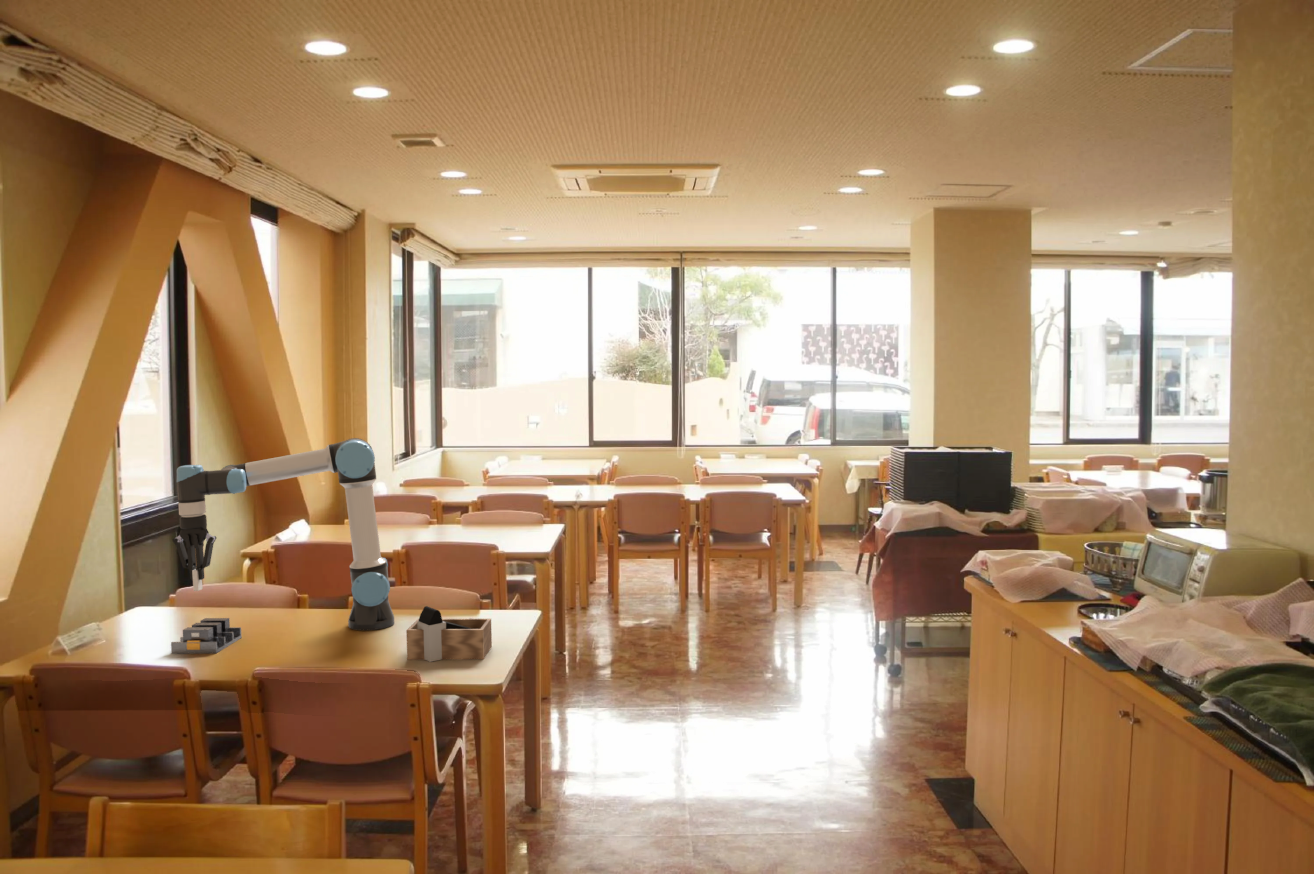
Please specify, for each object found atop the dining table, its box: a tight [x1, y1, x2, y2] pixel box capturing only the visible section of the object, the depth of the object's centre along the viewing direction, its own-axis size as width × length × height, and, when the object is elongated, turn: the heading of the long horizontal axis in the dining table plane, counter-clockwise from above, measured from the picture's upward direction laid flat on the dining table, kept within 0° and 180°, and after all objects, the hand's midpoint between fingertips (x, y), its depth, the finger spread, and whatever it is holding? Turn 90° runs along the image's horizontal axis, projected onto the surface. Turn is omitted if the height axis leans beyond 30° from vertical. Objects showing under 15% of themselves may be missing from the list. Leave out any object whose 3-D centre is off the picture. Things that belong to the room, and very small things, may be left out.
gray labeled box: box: [182, 626, 213, 642], centre depth 298 cm, size 8×3×6 cm, turn 89°
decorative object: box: [417, 605, 472, 663], centre depth 293 cm, size 8×18×15 cm, turn 132°
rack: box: [170, 617, 242, 655], centre depth 304 cm, size 14×17×7 cm
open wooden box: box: [405, 618, 493, 661], centre depth 293 cm, size 23×13×9 cm, turn 89°
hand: (198, 589), depth 297 cm, fingers closed
